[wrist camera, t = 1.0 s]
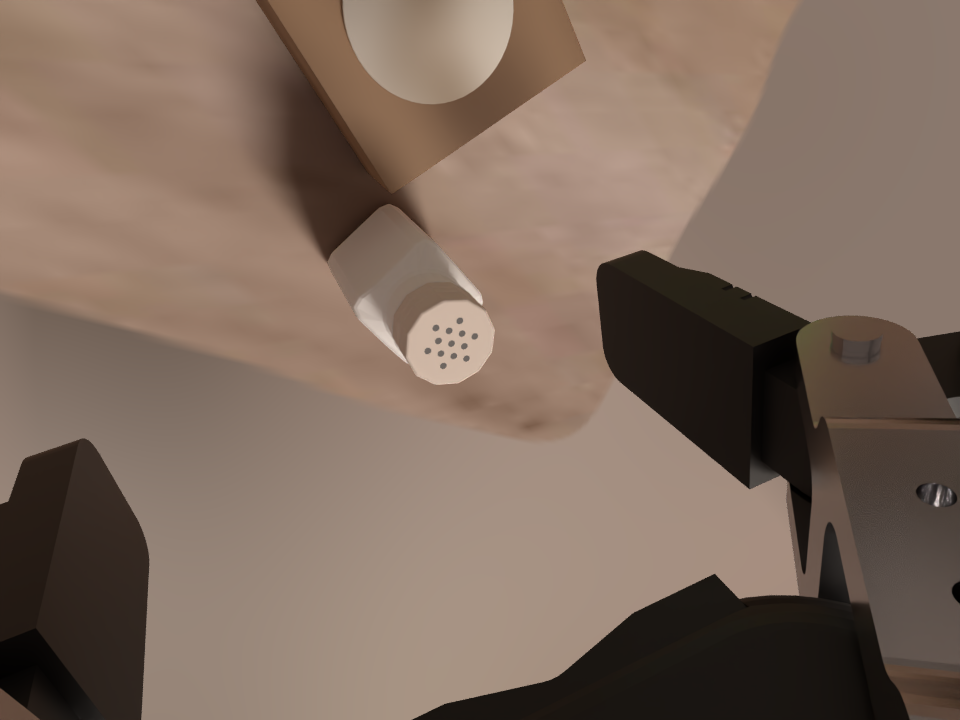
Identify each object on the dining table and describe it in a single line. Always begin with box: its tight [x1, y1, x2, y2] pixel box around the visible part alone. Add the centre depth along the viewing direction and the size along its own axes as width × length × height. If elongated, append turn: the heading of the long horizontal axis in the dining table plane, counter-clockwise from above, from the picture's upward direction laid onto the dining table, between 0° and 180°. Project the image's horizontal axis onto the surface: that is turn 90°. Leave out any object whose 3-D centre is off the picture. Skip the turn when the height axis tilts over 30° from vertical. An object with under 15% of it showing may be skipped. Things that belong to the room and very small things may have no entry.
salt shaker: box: [327, 204, 495, 385], centre depth 27 cm, size 4×4×10 cm
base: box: [256, 0, 586, 194], centre depth 25 cm, size 9×9×4 cm
